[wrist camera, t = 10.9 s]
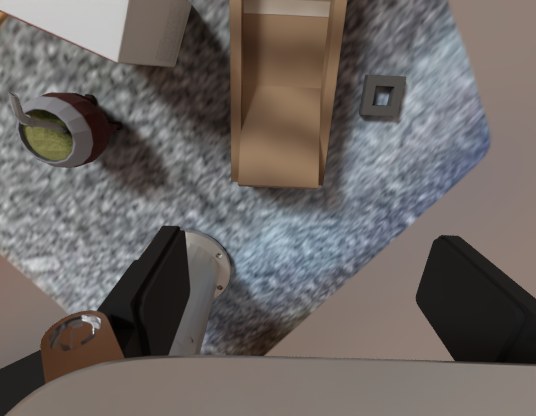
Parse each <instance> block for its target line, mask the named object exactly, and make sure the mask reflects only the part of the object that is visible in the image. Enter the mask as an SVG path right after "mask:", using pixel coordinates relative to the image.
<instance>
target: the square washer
mask: <svg viewBox="0 0 536 416" xmlns="http://www.w3.org/2000/svg"><path fill="white" fill-rule="evenodd" d="M405 80H406V77H402V76H382V75H365V81H364V86H363V92H362V98H361V104H360V110H359V114H361V115H377V116H398V112H399V107H400V103H401V98H402V94H403V89H404V85H405ZM376 86H391V89H390V94H389V98H388V103H387V106H383V105H372V104H373V99H374V94H375V88H376Z"/></svg>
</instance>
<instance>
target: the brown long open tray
mask: <svg viewBox="0 0 536 416" xmlns="http://www.w3.org/2000/svg"><path fill="white" fill-rule="evenodd" d="M346 5H347V0H230V91H231V182H238V185H239V186H247V187H271V188H294V189H317V188H318V185H322V186H323V180H324V172H325V165H326V157H327V149H328V142H329V134H330V127H331V119H332V111H333V104H334V96H335V89H336V81H337V73H338V66H339V58H340V51H341V43H342V35H343V28H344V20H345V13H346Z"/></svg>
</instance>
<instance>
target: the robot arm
mask: <svg viewBox="0 0 536 416" xmlns="http://www.w3.org/2000/svg"><path fill="white" fill-rule="evenodd" d="M219 253H220V254H219ZM230 275H231V264H230V260H229V257H228V255H227V253H226V251H225V250H224V249H223V247H222V246H221V245H220V244H219V243H218V242H217V241H216V240H214V239H213V238H211V237H210V236H208V235H206V234H204V233H201V232H199V231H195V230H191V229H180V227H179V226H162V227H161V229H160V230H159V231H158V233H157V234H156V236H155V237H154V238H153V239H152V240H151V241H150V242H149V244H148V245H147V246H146V248H145V249H144V251H143V254H142V255H141V257H140V258H139V259H138V260H135V261H134V262H133V263H132V264H131V265H130V266H129V268H128V269H127V270H126V272H125V273H124V275H123V276H122V277H121V279H120V280H119V281H118V283H117V284H116V285H115V287H114V288H113V289H112V291H111V292H110V293H109V295H108V296H107V297H106V299H105V300H104V302H103V303H102V304H101V306H100V307H99V308H98V310H97V311H92V310H88V311H81V312H77V313H74V314H71V315H69V316H67V317H65V318H63V319H61V320H59V321H58V322H56V323H55V324H54V325H52V326H51V327H50V328H49V329H48V330H47V331H46V332H45V334H44V336H43V337H42V339H41V344H40V349H41V350H39V351H37V352H35V353H33V354H31V355H29V356H27V357H25V358H23V359H20V360H18V361H16V362H14V363H12V364H10V365H8V366H6V367H4V368H2V369H0V416H536V299H535V298H534V297H533V296H532V295H530V294H529V293H528V292H527V291H525V290H524V289H523V288H522V287H521V286H519V285H518V284H517V283H516V282H515V281H513V280H512V279H511V278H510V277H508V276H507V275H506V274H505V273H503V272H502V271H501V270H500V269H498V268H497V267H496V266H495V265H494V264H493V263H491V262H490V261H489V260H488V259H486V258H485V257H484V256H483V255H481V254H480V253H479V252H478V251H477V250H475V249H474V248H473V247H472V246H471V245H469V244H468V243H467V242H465V241H464V240H463V239H462V238H461V237H459V236H447V235H441V236H439V237H438V239H435V240H434V242H433V244H432V247H431V250H430V254H429V256H428V259H427V263H426V266H425V269H424V272H423V275H422V278H421V281H420V284H419V287H418V291H417V294H416V302H417V304H418V306H419V308H420V309H421V311H422V312H423V314H424V315H425V317H426V318H427V320H428V321H429V323H430V324H431V326H432V327H433V329H434V330H435V332H436V333H437V335H438V336H439V338H440V339H441V341H442V342H443V344H444V345H445V347H446V348H447V350H448V351H449V353H450V354H451V356H452V357H453V359H454V360H455V361H430V360H394V359H360V358H322V357H321V358H320V357H275V356H272V357H271V356H227V355H200V351H201V347H202V343H203V339H204V335H205V331H206V327H207V323H208V319H209V315H210V311H211V307H212V303H213V299H215V298H216V297H218V296H219V295H220V294H221V293H222V292H223V291H224V290H225V288H226V287H227V285H228V282H229V280H230Z"/></svg>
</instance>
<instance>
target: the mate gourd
mask: <svg viewBox="0 0 536 416" xmlns="http://www.w3.org/2000/svg"><path fill="white" fill-rule="evenodd" d="M8 93H9V98H10V102H11V106H12V109H13V112H14V114H15V115H16V117H17V118H18V119H17V126H16V129H17V133H18V136H19V140H20V141H21V143H22V144H23V146H24V147H25V149H26V150H27V151H28V152H29V153H30V154H32V155H33V156H34V157H35V158H36V159H38V160H40V161H42V162H45V163H47V164H49V165H52V166H55V167H65V168H72V167H78V166H81V165H84V164H87V163H90V162H93V161H94V160H95V159H97V158H98V157H99V156H100V155H101V154H102V153H103V152H104V150H105V149H106V147H107V144H108V142H109V139H110V135H111V133H112V132H113V131H114V130H121V129H122V128H123V127H122V123H121V122H114V121H107V120H106V118H105V116H104V115H103V113H102V112H101V111H100V110H99V109H98V108H97V107H96V102H95V97H94V96H93V95H89V94H86V95H85V96H82V95H80V94H77V93H48V94H45V95H42V96H40V97H37V98H35V99H32V100H29V101H28V102H27V103H26V104H25V105H24V107H23V108H22V107H21V105H20V102H19V99H18V97H17V95H15V94H14V93H12V92H9V91H8Z"/></svg>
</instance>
